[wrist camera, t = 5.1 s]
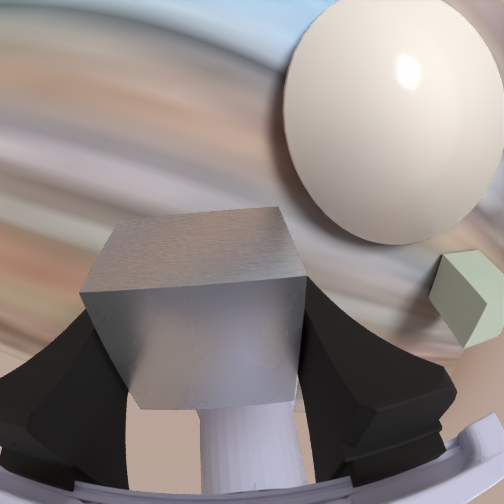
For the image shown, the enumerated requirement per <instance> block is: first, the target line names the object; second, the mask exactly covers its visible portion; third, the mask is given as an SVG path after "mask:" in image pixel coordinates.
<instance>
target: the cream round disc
mask: <svg viewBox="0 0 504 504" xmlns="http://www.w3.org/2000/svg"><path fill="white" fill-rule="evenodd" d="M282 113H283V125H284V133H285V138H286V143H287V147H288V151H289V154H290V157H291V160H292V162H293V165H294V168H295V170H296V172H297V174H298V176H299V178H300V180H301V182H302V184H303V185H304V187H305V188H306V190H307V191H308V193H309V194H310V196H311V197H312V199H313V200H314V201H315V203H316V204H317V205H318V206H319V207H320V208H321V210H322V211H323V212H324V213H325V214H326V215H327V216H328V217H329V218H330V219H331V220H333V221H334V222H335V223H336V224H337V225H338V226H340V227H342V228H343V229H345V230H346V231H348V232H350V233H351V234H353V235H356V236H358V237H360V238H362V239H365V240H368V241H372V242H375V243H381V244H389V245H405V244H411V243H417V242H421V241H424V240H427V239H430V238H432V237H435V236H437V235H439V234H441V233H443V232H445V231H446V230H448V229H450V228H451V227H453V226H454V225H455V224H457V223H458V222H459V221H461V220H462V219H463V218H464V217H465V216H466V215H467V214H468V213H469V212H470V211H471V210H472V209H473V208H474V207H475V206H476V204H477V203H478V202H479V201H480V199H481V198H482V197H483V195H484V194H485V192H486V191H487V189H488V187H489V185H490V183H491V181H492V180H493V178H494V175H495V173H496V170H497V168H498V165H499V162H500V159H501V156H502V152H503V147H504V90H503V85H502V81H501V78H500V75H499V72H498V69H497V66H496V64H495V61H494V59H493V57H492V55H491V53H490V51H489V49H488V48H487V46H486V44H485V43H484V41H483V39H482V38H481V37H480V35H479V34H478V33H477V31H476V30H475V29H474V28H473V26H472V25H471V24H470V23H469V22H468V21H467V20H466V19H465V18H464V17H463V16H462V15H460V14H459V13H458V12H457V11H456V10H454V9H453V8H452V7H450V6H449V5H447V4H446V3H444V2H442V1H441V0H339V1H337V2H336V3H334V4H333V5H331V6H330V7H328V8H327V9H325V10H324V11H323V12H322V13H321V14H320V15H319V16H318V17H317V18H316V19H315V20H314V21H313V22H312V23H311V25H310V26H309V27H308V29H307V30H306V31H305V33H304V34H303V35H302V37H301V39H300V41H299V43H298V45H297V46H296V48H295V50H294V52H293V55H292V58H291V61H290V64H289V67H288V70H287V74H286V79H285V84H284V90H283V107H282Z"/></svg>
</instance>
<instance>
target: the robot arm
mask: <svg viewBox="0 0 504 504" xmlns="http://www.w3.org/2000/svg"><path fill="white" fill-rule="evenodd" d="M298 378H299V382H300V386H301V390H302V395H303V400H304V405H305V411H306V417H307V422H308V428H309V434H310V441H311V448H312V454H313V462H314V470H315V478H316V483H315V484H310V485H308V484H307V479H306V474H305V469H304V464H303V460H302V455H301V450H300V445H299V440H298V435H297V430H296V426H295V420H294V416H293V410H294V403H295V396H296V389H297V382H298ZM456 394H457V390H456V388H455V386H454V384H453V382H452V380H451V378H450V376H449V375H448V373H447V372H446V370H445V369H444V367H443V366H440V365H438V364H435V363H432V362H430V361H427V360H425V359H422V358H419V357H417V356H415V355H412V354H410V353H408V352H406V351H404V350H402V349H400V348H398V347H396V346H394V345H392V344H390V343H389V342H387V341H385V340H384V339H382V338H380V337H378V336H377V335H375V334H374V333H372V332H370V331H369V330H367V329H366V328H365V327H363V326H362V325H360V324H359V323H358V322H356V321H355V320H354V319H352V318H351V317H350V316H348V315H347V314H346V313H345V312H344V311H343V310H341V309H340V308H339V307H338V306H337V305H336V304H335V303H334V302H332V301H331V300H330V299H329V298H328V297H327V296H326V295H325V294H324V293H323V292H322V291H321V290H320V289H319V288H318V287H317V286H316V285H315V284H314V283H313V281H312V280H311V279H310V278H309V277H308V276H307V282H306V294H305V306H304V316H303V327H302V336H301V346H300V355H299V364H298V372H297V380H296V388H295V396H294V401H288V402H280V403H272V404H264V405H254V406H243V407H230V408H214V409H196V410H197V413H198V416H199V418H200V450H201V488H202V495H194V494H192V495H191V494H165V493H152V492H141V491H132V490H129V485H128V476H127V466H126V448H125V447H126V444H125V430H126V429H125V427H126V406H127V396H128V388H127V386H126V385H125V383H124V381H123V379H122V378H121V376H120V374H119V373H118V371H117V369H116V367H115V365H114V364H113V362H112V360H111V358H110V356H109V354H108V352H107V351H106V349H105V347H104V345H103V343H102V341H101V339H100V337H99V335H98V333H97V331H96V329H95V327H94V325H93V323H92V320H91V318H90V316H89V314H88V312H87V310H86V309H85V310H84V311H83V312H82V313H81V314H80V315H79V316H78V317H77V318H76V319H75V320H74V321H73V322H72V323H71V324H70V325H69V326H68V328H67V329H66V330H65V331H63V332H62V333H61V334H60V335H59V336H58V337H57V338H56V339H55V340H54V341H52V342H51V343H50V344H49V345H48V346H47V347H45V348H44V349H43V350H42V351H40V352H39V353H38V354H36V355H35V356H34V357H32V358H31V359H30V360H28V361H27V362H26V363H24V364H23V365H21V366H20V367H18V368H16V369H15V370H13V371H12V372H10V373H8V374H7V375H5V376H4V377H1V378H0V446H1V447H2V450H1V454H0V504H466V503H467V502H468V501H470V500H472V499H474V498H475V497H477V496H478V495H480V494H481V493H483V492H484V491H486V490H487V489H489V488H490V487H492V486H493V485H495V484H496V483H497V482H499V481H500V480H502V479H503V478H504V430H503V428H502V426H501V424H500V422H499V420H498V418H497V416H496V414H495V412H492V413H490V414H488V415H487V416H485V417H483V418H481V419H479V420H477V421H475V422H473V423H472V424H470V425H469V426H467V427H466V428H464V429H463V430H462V431H461V432H460V433H459V434H458V436H457V437H455V438H454V439H451V440H449V441H447V442H445V443H443V440H442V438H441V436H440V434H439V432H440V431H441V430H442V425H441V423H440V421H439V419H440V418H441V416H442V415H443V414H444V413H445V412H446V410H447V409H448V408H449V407H450V406H451V404H452V403H453V402H454V400H455V397H456Z"/></svg>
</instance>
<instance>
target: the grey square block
mask: <svg viewBox="0 0 504 504" xmlns="http://www.w3.org/2000/svg"><path fill="white" fill-rule="evenodd" d="M306 282H307V274H306V272H305V269H304V267H303V264H302V262H301V259H300V257H299V255H298V252H297V250H296V247H295V245H294V242H293V240H292V238H291V235H290V233H289V230H288V228H287V226H286V223H285V221H284V219H283V216H282V214H281V212H280V209H279V207H263V208H250V209H236V210H224V211H212V212H201V213H190V214H180V215H170V216H160V217H151V218H142V219H133V220H125V221H119V222H118V224H117V225H116V227H115V229H114V230H113V232H112V234H111V235H110V237H109V239H108V240H107V242H106V244H105V245H104V247H103V249H102V251H101V252H100V254H99V256H98V258H97V260H96V261H95V263H94V265H93V267H92V269H91V271H90V272H89V274H88V276H87V278H86V280H85V282H84V284H83V286H82V288H81V290H80V292H79V294H80V296H81V298H82V301H83V303H84V305H85V307H86V310H87V312H88V314H89V316H90V318H91V320H92V323H93V325H94V327H95V329H96V331H97V333H98V335H99V337H100V339H101V341H102V343H103V345H104V347H105V349H106V351H107V352H108V354H109V356H110V358H111V360H112V362H113V364H114V365H115V367H116V369H117V371H118V373H119V374H120V376H121V378H122V379H123V381H124V383H125V385H126V386H127V388H128V390H129V391H130V393H131V395H132V396H133V398H134V399H135V401H136V403H137V404H138V406H139V407H140V409H153V410H154V409H156V410H180V409H181V410H183V409H184V410H185V409H214V408H230V407H243V406H254V405H264V404H272V403H280V402H288V401H294V396H295V388H296V380H297V372H298V364H299V355H300V346H301V336H302V327H303V316H304V306H305V294H306Z"/></svg>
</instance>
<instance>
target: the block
mask: <svg viewBox="0 0 504 504" xmlns="http://www.w3.org/2000/svg"><path fill="white" fill-rule="evenodd" d="M428 299H429V300H430V301H431V303H432V304H433V305H434V307H435V308H436V309H437V311H438V312H439V314H440V315H441V316H442V318H443V319H444V321H445V322H446V324H447V325H448V326H449V328H450V329H451V331H452V332H453V334H454V335H455V337H456V338H457V340H458V341H459V343H460V344H461V346H462V347H463V349H465V348H467V347H470V346H473V345H476V344H478V343H481V342H484V341H486V340H489V339H491V338H494V337H496V336H498V335H499V334H500V332H501V330H502V329H503V327H504V275H503V274H502V273H501V272H500V271H499V270H498V269H497V268H496V267H495V266H494V265H493V264H492V263H491V262H490V261H489V260H488V259H487V258H486V257H485V256H484V255H483V254H482V253H481V252H480V251H479V250H474V251H466V252H458V253H449V254H443V255H442V258H441V262H440V265H439V268H438V271H437V274H436V277H435V280H434V283H433V286H432V289H431V291H430V294H429V297H428Z"/></svg>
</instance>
